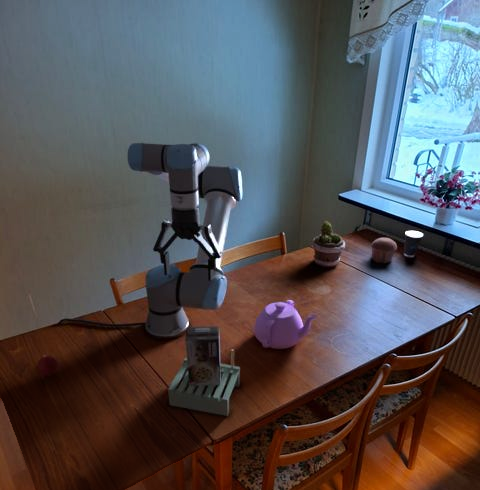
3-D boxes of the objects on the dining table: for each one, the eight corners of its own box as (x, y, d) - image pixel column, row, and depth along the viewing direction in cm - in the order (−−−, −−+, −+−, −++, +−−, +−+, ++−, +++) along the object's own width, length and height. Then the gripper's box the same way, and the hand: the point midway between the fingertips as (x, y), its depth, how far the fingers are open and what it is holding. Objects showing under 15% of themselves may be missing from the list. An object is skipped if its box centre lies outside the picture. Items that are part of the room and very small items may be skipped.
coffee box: (220, 371, 131) (220, 325, 122) (220, 385, 126) (219, 339, 117) (189, 371, 131) (186, 325, 122) (188, 386, 125) (185, 339, 116)
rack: (169, 405, 127) (165, 369, 120) (186, 374, 139) (183, 340, 132) (227, 416, 124) (227, 380, 117) (239, 383, 135) (240, 349, 128)
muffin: (371, 263, 206) (375, 243, 201) (366, 253, 216) (370, 234, 210) (397, 264, 206) (401, 244, 201) (391, 254, 215) (395, 234, 210)
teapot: (301, 367, 142) (304, 331, 135) (241, 347, 151) (242, 312, 143) (324, 333, 158) (329, 299, 151) (269, 316, 167) (271, 284, 160)
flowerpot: (348, 267, 203) (355, 225, 192) (317, 271, 199) (322, 229, 188) (334, 254, 214) (340, 214, 203) (304, 258, 211) (308, 217, 200)
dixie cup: (404, 250, 219) (409, 229, 213) (420, 255, 215) (425, 233, 209) (397, 255, 214) (402, 233, 208) (413, 260, 210) (419, 238, 204)
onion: (53, 367, 141) (48, 346, 137) (64, 374, 138) (58, 354, 134) (36, 376, 137) (30, 355, 133) (46, 384, 134) (40, 363, 130)
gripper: (136, 206, 120) (144, 276, 132) (225, 214, 115) (226, 287, 127) (147, 197, 126) (154, 265, 138) (232, 205, 121) (232, 275, 133)
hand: (189, 276), depth 132 cm, fingers open, 13 cm apart
